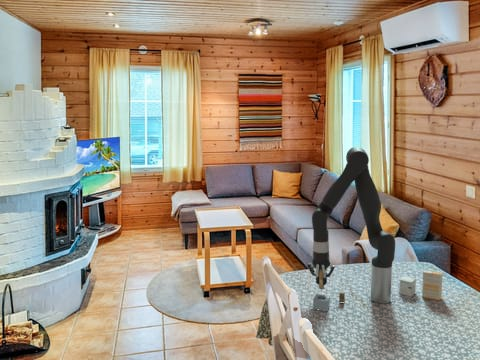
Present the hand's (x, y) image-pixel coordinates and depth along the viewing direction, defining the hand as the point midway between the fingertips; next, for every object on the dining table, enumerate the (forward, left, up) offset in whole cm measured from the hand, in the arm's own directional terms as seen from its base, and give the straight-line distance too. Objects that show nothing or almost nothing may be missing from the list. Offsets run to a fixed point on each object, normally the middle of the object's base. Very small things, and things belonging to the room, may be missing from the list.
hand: (321, 284), depth 213 cm
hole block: (+10, +2, -7) cm, 13 cm away
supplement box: (-18, +50, -8) cm, 54 cm away
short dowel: (+1, +10, -7) cm, 12 cm away
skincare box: (-20, +39, -8) cm, 44 cm away
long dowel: (0, 0, -2) cm, 2 cm away
